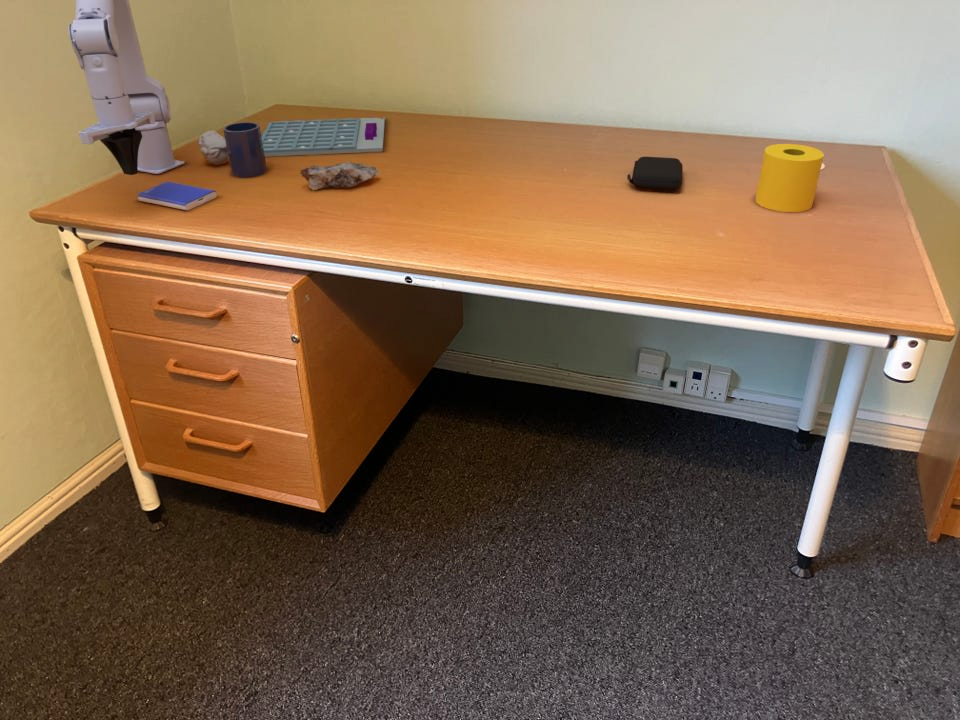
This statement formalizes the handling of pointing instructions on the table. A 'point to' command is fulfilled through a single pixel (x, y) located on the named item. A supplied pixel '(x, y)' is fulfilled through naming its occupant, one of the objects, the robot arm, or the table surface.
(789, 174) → the yellow toilet paper roll
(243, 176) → the pen cup
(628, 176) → the carrying case
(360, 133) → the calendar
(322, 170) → the mineral rock
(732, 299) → the table surface
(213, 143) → the grey rounded lump
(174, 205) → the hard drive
